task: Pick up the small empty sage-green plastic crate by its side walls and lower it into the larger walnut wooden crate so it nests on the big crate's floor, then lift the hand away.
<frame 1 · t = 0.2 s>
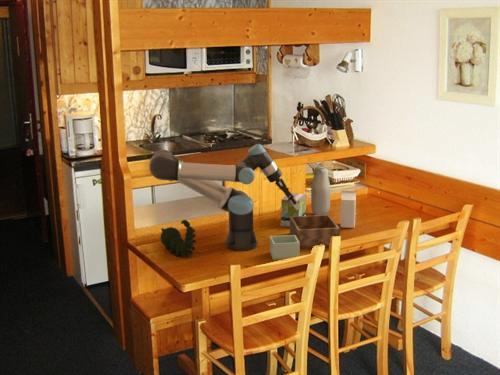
hand: (296, 205, 328), 15 cm above the table, tool tilted 35°, fingers open, 13 cm apart
tea box: (293, 223, 350), on the table
toy figurine: (177, 253, 308), on the table
small green crate: (284, 255, 302), on the table
glass bottle: (320, 216, 362), on the table
walnut crate: (313, 239, 323), on the table
milk carton: (347, 226, 344), on the table
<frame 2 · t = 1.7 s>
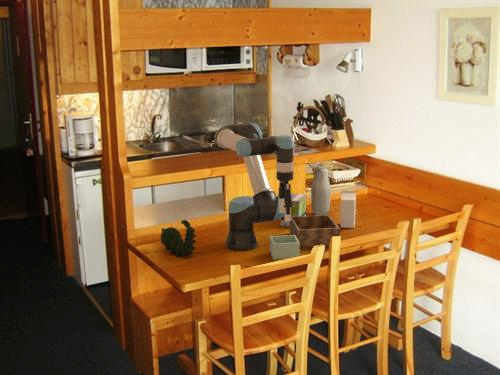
hand: (284, 216, 298), 19 cm above the table, tool pointing down, fingers open, 13 cm apart
nothing on the table moved.
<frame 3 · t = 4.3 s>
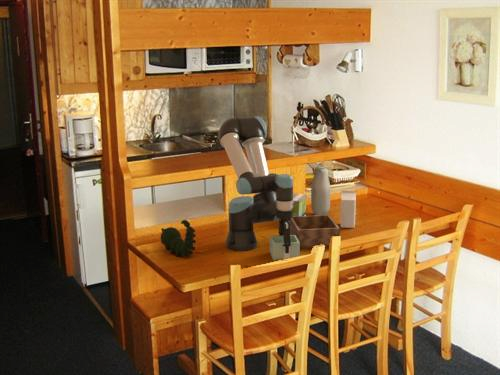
hand: (284, 254, 302), 1 cm above the table, tool pointing down, fingers closed on small green crate, 11 cm apart
small green crate: (284, 255, 302), on the table, touching gripper
everything else where it was.
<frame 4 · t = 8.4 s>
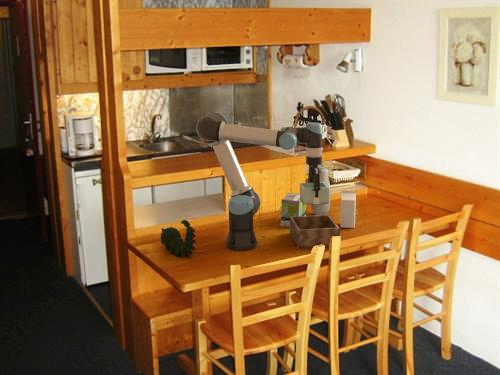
hand: (313, 200, 317), 20 cm above the table, tool pointing down, fingers closed on small green crate, 11 cm apart
small green crate: (314, 201, 317), point 20 cm above the table, touching gripper
everything else where it was.
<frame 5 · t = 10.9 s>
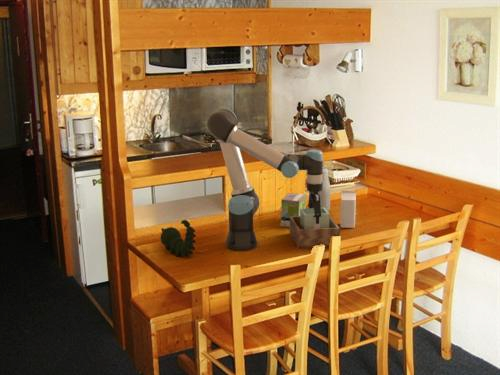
hand: (314, 226, 322), 7 cm above the table, tool pointing down, fingers closed on small green crate, 11 cm apart
small green crate: (314, 227, 322), point 7 cm above the table, touching gripper
everything else where it was.
when the fingers open (3 cm above the table, at t = 12.7 s): small green crate drops 2 cm, resting on walnut crate.
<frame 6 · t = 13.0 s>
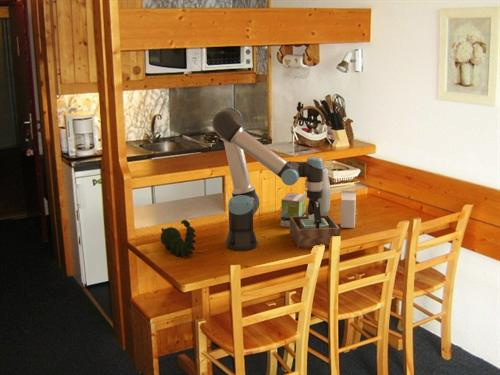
hand: (314, 231, 322), 4 cm above the table, tool pointing down, fingers open, 13 cm apart
small green crate: (314, 237, 323), point 1 cm above the table, touching walnut crate
everything else where it was.
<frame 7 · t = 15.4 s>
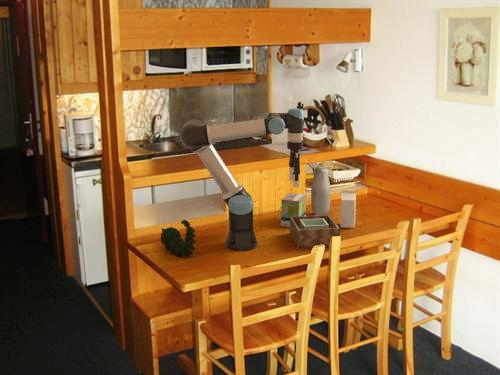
hand: (293, 183, 323), 27 cm above the table, tool pointing down, fingers open, 13 cm apart
nothing on the table moved.
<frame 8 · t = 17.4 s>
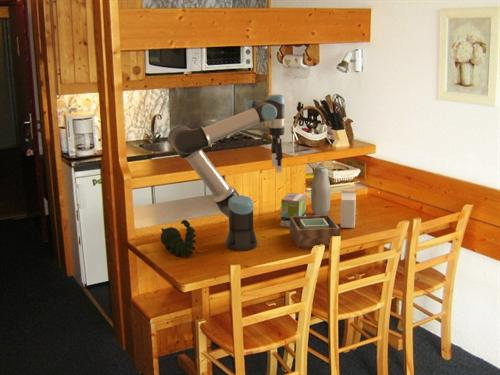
hand: (276, 169, 328), 33 cm above the table, tool pointing down, fingers open, 13 cm apart
nothing on the table moved.
at the end: small green crate inside the target area on the walnut crate (0.0 cm from its centre), point 1.0 cm above the walnut crate's base; small green crate tilted 0°; the gripper is holding nothing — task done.
